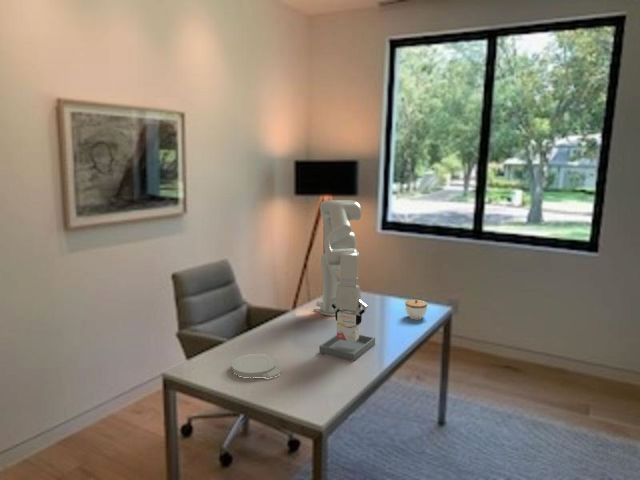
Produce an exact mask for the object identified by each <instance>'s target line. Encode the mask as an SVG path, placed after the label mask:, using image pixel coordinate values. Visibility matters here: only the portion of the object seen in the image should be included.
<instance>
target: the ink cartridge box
mask: <svg viewBox="0 0 640 480" xmlns="http://www.w3.org/2000/svg"><path fill="white" fill-rule="evenodd" d="M356 316H357V314H356V312H355V311H349V310H344V309H341V310H340V311H339V312H337V321H336V335H337V339H342V340H347V341H352V342H356V341H357V340H358V338H359V334H360V324H359V325H356Z"/></svg>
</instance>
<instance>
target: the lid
mask: <svg viewBox="0 0 640 480" xmlns="http://www.w3.org/2000/svg"><path fill="white" fill-rule="evenodd" d="M277 364H278V361H277V359H276V358H275V357H274V356H272V355H269V354H266V353H248V354H243V355H240V356H238V357H236V358H234V359H233V360H232V361H231V364H230V365H231V369H232V373H233V372H234V373H235V374H237V375H239V376H242V377H249V378H250V377H251V378H253V377H266V378H270V377H275V376H278V375H279V374H280V373H281V374H282V368H281V367H280V366H278V365H277ZM234 373H233V374H234ZM235 374H234V375H235ZM281 374H280V375H281ZM280 375H279V376H280ZM279 376H278V377H279Z"/></svg>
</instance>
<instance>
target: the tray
mask: <svg viewBox="0 0 640 480" xmlns="http://www.w3.org/2000/svg"><path fill="white" fill-rule="evenodd" d="M375 345H376V337H374V336H367V335H363V334H360V333H359V338H358V340H357V341H356V342H352V341H347V340H342V339H337V334H335V335H334V336H332V337H331V338H329V339H328V340H326V341H325V342H323V343H322V344H320V345H319V346H318V347H319V350H318V352H319V354H322V353H323V355H326V354H327V356H331V357H334V356H335V357H336V358H338V357H339V358H338V359H343V360H345V361H349V362H350V361H351V362H355V361H356V360H358V359H359V358H361V357H362V356H363V355H364V354H365V353H367V352H368V351H369V350H370V349H372V348H373V347H374V346H375Z"/></svg>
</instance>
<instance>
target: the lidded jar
mask: <svg viewBox="0 0 640 480" xmlns="http://www.w3.org/2000/svg"><path fill="white" fill-rule="evenodd" d="M404 303H405V304H404V305H405V306H404V307H405V313H406V314H407V316H408V317H409V319H411V320H414V321H415V320H422V319H423V317H424V316H425V315H426V313H427V309H428V303H427V302H426V300H425V301H424V300H421V299H408V300H406V301H405V302H404Z"/></svg>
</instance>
